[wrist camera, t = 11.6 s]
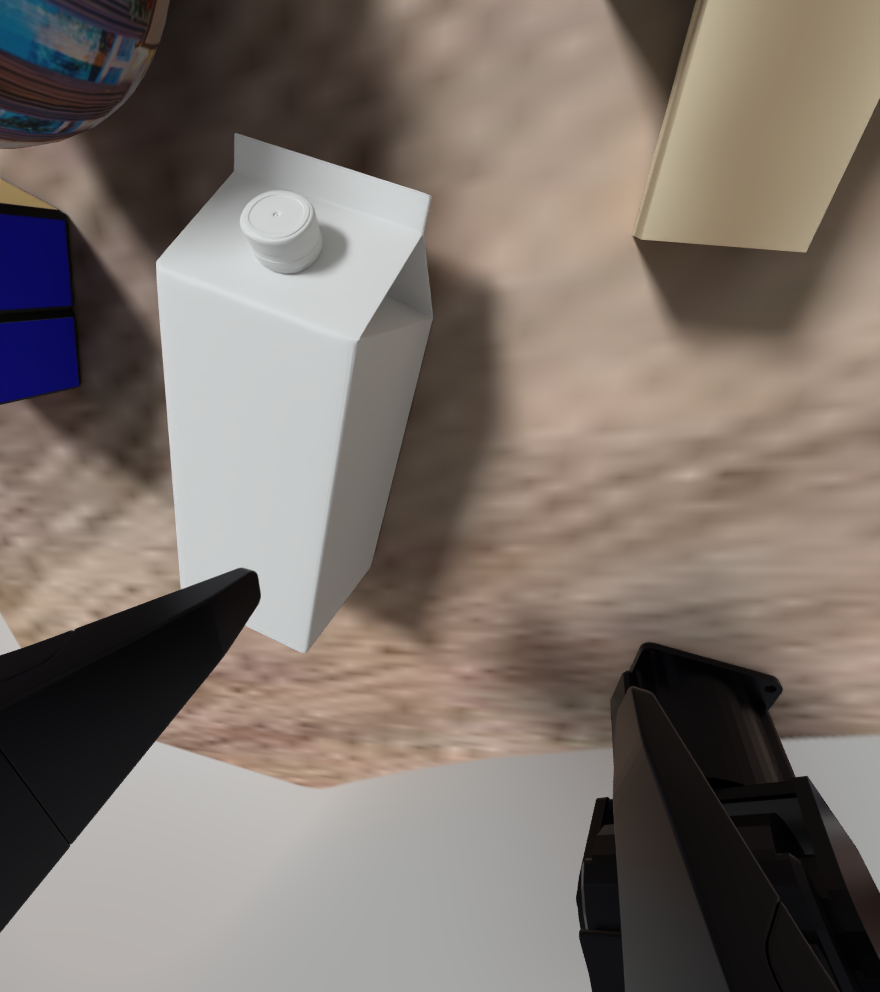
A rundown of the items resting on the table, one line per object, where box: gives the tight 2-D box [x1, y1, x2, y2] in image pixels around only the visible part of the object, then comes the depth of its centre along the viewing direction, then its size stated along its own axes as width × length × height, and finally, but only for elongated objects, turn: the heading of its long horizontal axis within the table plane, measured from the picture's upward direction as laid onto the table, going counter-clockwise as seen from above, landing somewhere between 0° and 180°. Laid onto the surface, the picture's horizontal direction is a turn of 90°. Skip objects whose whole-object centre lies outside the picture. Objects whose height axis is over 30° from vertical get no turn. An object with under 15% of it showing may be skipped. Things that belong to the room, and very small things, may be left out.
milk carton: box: [156, 133, 433, 653], centre depth 18 cm, size 7×7×19 cm
